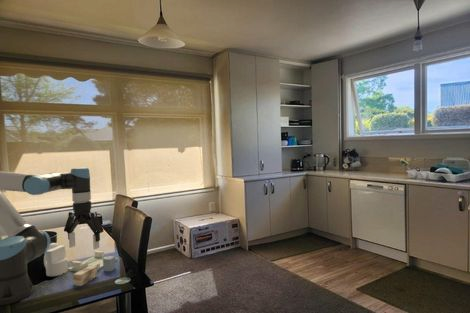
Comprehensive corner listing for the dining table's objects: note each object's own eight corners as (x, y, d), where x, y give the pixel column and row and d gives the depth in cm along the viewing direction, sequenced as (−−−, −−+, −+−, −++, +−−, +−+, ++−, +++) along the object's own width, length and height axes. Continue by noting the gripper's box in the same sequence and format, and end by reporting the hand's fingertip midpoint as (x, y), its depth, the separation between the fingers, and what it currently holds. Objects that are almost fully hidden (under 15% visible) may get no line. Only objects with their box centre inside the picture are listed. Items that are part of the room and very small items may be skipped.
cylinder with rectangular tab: (57, 276, 142) (55, 251, 141) (41, 275, 144) (40, 251, 143) (71, 269, 150) (70, 245, 150) (56, 268, 152) (55, 245, 152)
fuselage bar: (80, 286, 131) (80, 275, 131) (73, 285, 132) (73, 274, 132) (97, 276, 140) (97, 266, 140) (90, 276, 142) (90, 265, 141)
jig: (91, 273, 144) (91, 265, 144) (67, 270, 149) (67, 262, 149) (117, 259, 161) (116, 252, 161) (95, 257, 166) (94, 250, 166)
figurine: (53, 268, 152) (52, 245, 151) (40, 268, 153) (39, 245, 153) (64, 263, 159) (62, 241, 158) (51, 263, 160) (50, 240, 160)
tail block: (110, 271, 145) (109, 259, 145) (103, 270, 147) (103, 258, 147) (115, 268, 149) (115, 256, 149) (109, 267, 150) (108, 256, 150)
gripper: (110, 200, 136) (112, 246, 137) (67, 199, 143) (69, 243, 144) (98, 203, 129) (100, 252, 130) (53, 202, 136) (56, 248, 137)
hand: (84, 247), depth 137 cm, fingers open, 13 cm apart
